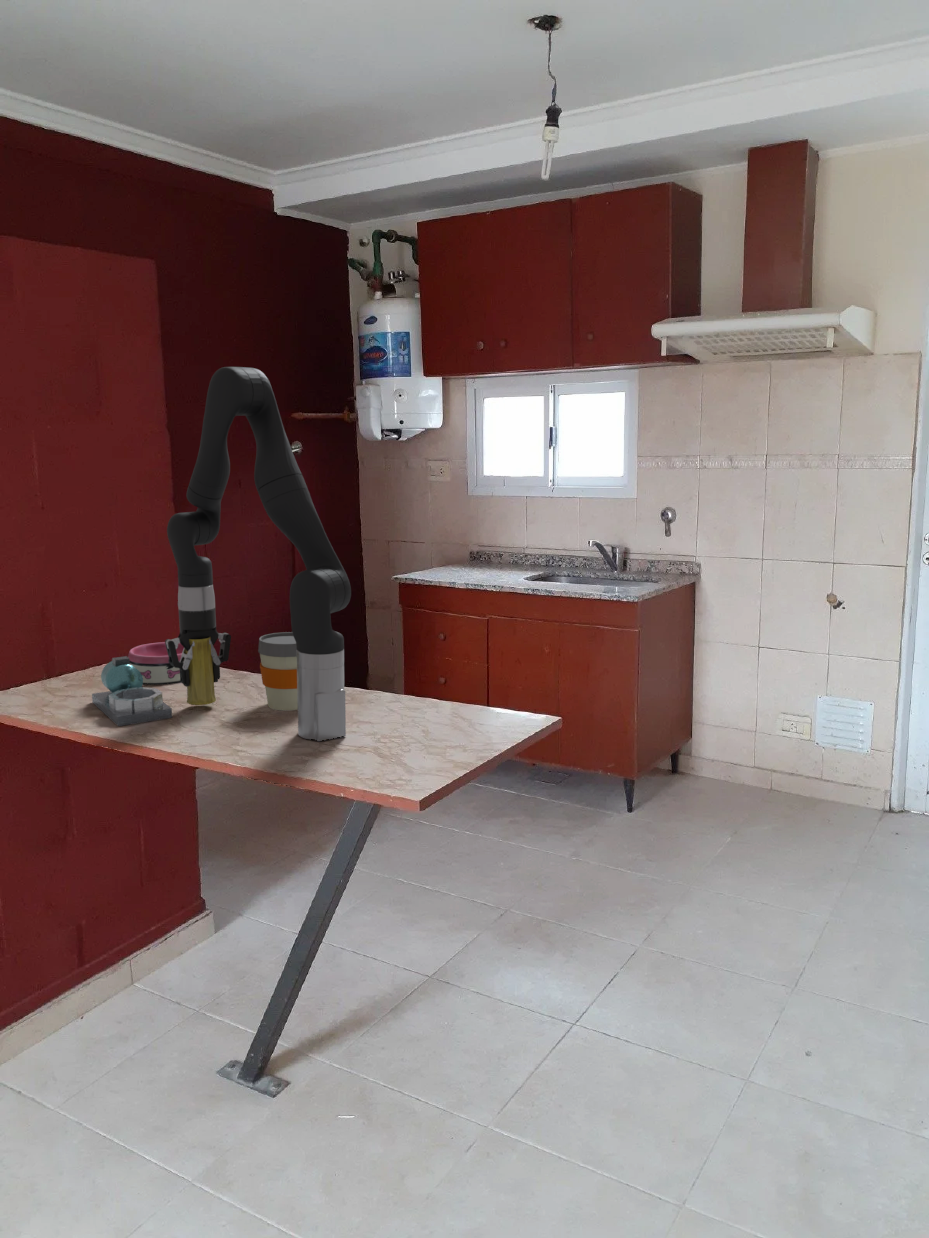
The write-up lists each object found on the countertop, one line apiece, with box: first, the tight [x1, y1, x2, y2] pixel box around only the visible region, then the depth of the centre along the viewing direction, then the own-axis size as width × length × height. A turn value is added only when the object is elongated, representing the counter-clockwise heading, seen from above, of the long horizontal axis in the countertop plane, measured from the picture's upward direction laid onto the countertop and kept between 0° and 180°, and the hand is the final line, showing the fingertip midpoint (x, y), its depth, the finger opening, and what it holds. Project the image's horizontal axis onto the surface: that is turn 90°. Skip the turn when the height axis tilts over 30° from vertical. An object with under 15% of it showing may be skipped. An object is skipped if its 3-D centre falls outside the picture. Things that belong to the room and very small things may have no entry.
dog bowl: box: [127, 641, 184, 686], centre depth 233 cm, size 18×18×7 cm
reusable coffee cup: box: [257, 631, 298, 712], centre depth 209 cm, size 13×13×15 cm
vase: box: [186, 637, 217, 706], centre depth 206 cm, size 6×6×14 cm
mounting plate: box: [91, 655, 173, 727], centre depth 204 cm, size 20×11×10 cm, turn 35°
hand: (200, 683), depth 206 cm, fingers closed on vase, 5 cm apart
